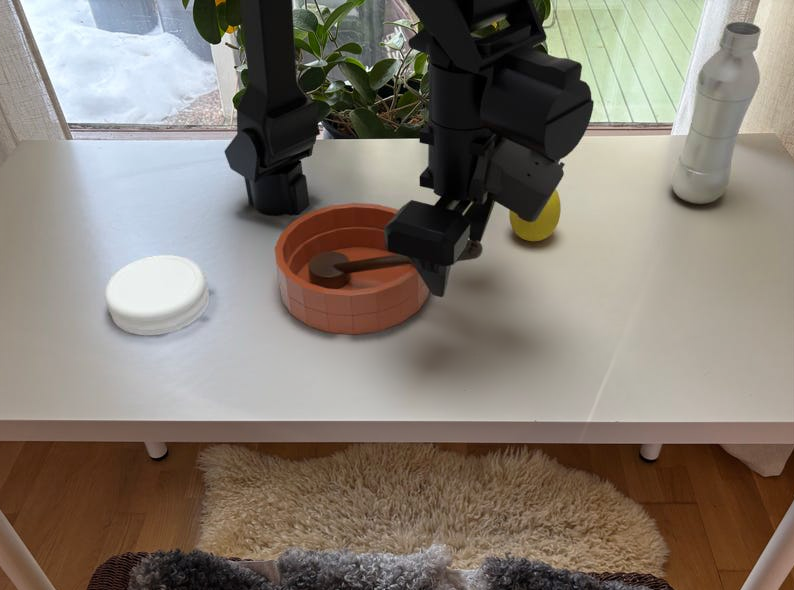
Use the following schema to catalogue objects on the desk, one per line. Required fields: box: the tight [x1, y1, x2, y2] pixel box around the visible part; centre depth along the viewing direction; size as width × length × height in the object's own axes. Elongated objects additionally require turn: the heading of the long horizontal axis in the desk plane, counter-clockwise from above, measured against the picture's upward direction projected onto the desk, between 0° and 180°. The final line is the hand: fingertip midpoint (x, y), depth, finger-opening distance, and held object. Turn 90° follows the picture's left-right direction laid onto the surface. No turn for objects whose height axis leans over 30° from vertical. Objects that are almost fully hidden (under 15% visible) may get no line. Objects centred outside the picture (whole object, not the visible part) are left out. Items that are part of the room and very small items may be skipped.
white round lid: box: [104, 254, 210, 336], centre depth 79 cm, size 10×10×4 cm
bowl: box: [274, 202, 430, 335], centre depth 80 cm, size 16×16×6 cm
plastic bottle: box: [671, 21, 762, 205], centre depth 87 cm, size 6×7×20 cm
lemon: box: [508, 188, 562, 242], centre depth 85 cm, size 6×6×8 cm
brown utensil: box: [308, 239, 484, 289], centre depth 77 cm, size 19×4×10 cm, turn 64°
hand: (457, 267), depth 74 cm, fingers open, 9 cm apart
